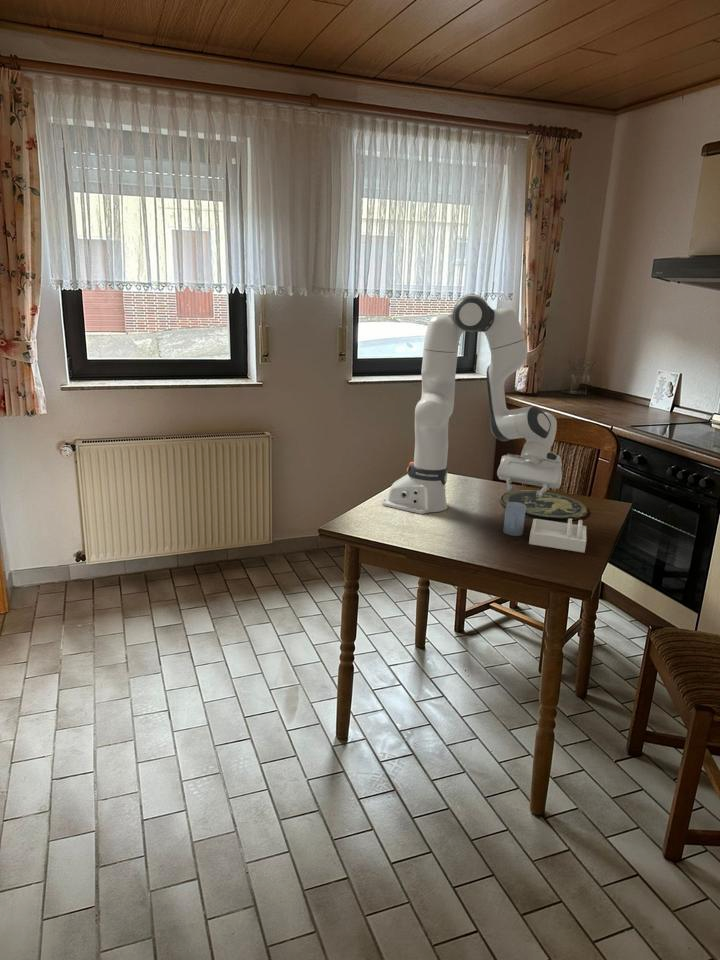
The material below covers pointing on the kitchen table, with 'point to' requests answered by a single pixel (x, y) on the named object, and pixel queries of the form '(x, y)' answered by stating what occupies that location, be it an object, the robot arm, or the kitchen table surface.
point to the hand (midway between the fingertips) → (523, 494)
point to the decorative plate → (546, 505)
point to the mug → (514, 518)
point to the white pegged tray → (558, 535)
